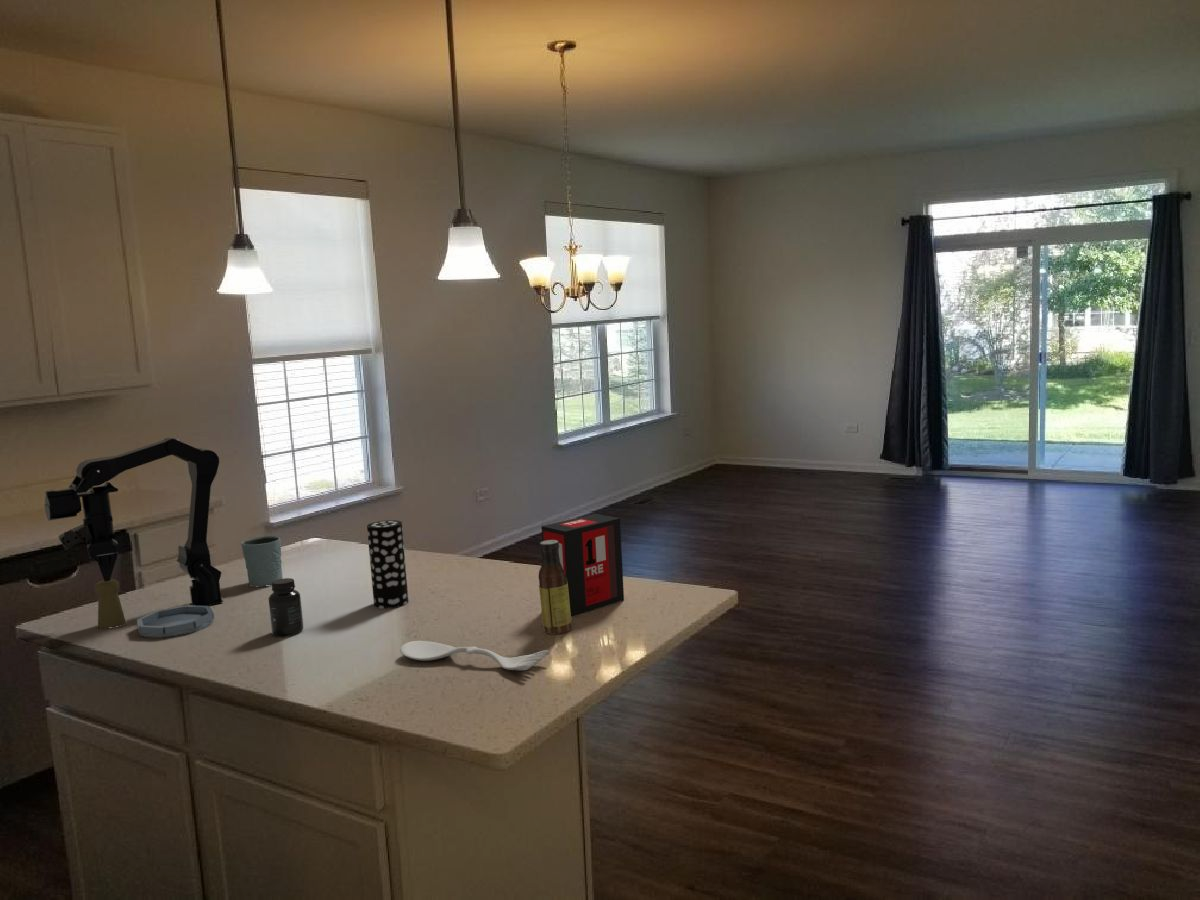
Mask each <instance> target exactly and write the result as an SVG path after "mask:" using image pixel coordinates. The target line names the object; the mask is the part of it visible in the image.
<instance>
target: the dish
mask: <svg viewBox="0 0 1200 900" xmlns="http://www.w3.org/2000/svg"><path fill="white" fill-rule="evenodd" d="M214 619H215V617H214V611H213V609H212V608H211V605H207V606H194V604H191V605H180V606H175V607H170V608H164V609H159V610H155V611H152V612H151V613H148V614H146V615H144V616H142V617H139V618H137V619H136V624H137V629H138V630H137V631H138V635H139V636H141V637H143V636H144V638H148V637H151V638H150V639H163V638H162V637H166V638H170V637H169V636H174V637H179V636H178V635H180V636H183V635H182V634H184V635H188V634H187V633H189V634H191V633H190V632H192V633H195V632H194V631H196V632H198V631H200V629H201V630H203V629H205V627H206V628H207V627H209V626H210V625H212V623H213V622H214Z"/></svg>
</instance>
